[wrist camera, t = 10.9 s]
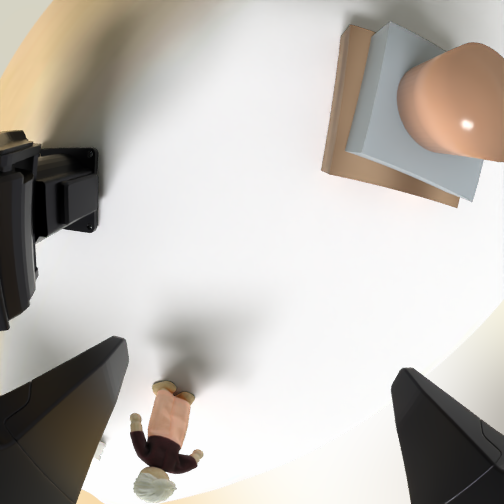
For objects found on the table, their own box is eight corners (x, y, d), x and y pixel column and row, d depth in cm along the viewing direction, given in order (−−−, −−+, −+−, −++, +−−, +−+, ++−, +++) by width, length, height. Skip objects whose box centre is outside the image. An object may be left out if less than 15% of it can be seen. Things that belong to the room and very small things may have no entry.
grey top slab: (344, 151, 16) (361, 153, 13) (371, 36, 13) (390, 21, 10) (446, 192, 16) (472, 201, 13) (468, 89, 13) (494, 86, 11)
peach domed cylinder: (390, 136, 13) (442, 135, 8) (401, 51, 11) (449, 21, 6) (463, 165, 13) (521, 178, 8) (472, 87, 11) (529, 78, 6)
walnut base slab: (319, 169, 19) (329, 174, 16) (338, 38, 16) (350, 24, 13) (436, 199, 19) (457, 207, 17) (453, 82, 16) (475, 78, 13)
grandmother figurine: (139, 388, 27) (100, 487, 15) (150, 369, 26) (107, 478, 14) (204, 418, 28) (186, 518, 16) (219, 401, 27) (204, 512, 15)
